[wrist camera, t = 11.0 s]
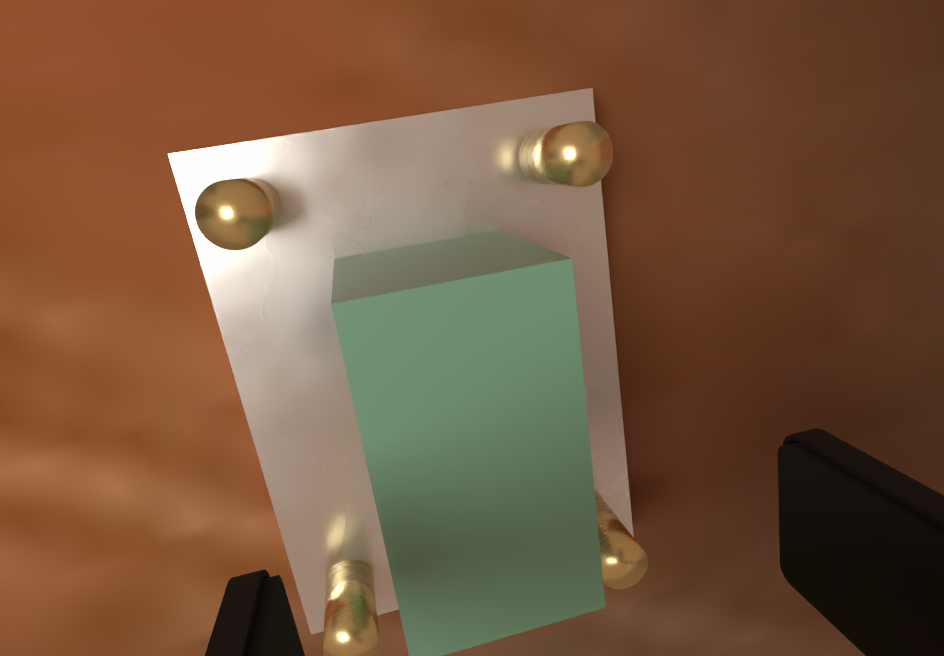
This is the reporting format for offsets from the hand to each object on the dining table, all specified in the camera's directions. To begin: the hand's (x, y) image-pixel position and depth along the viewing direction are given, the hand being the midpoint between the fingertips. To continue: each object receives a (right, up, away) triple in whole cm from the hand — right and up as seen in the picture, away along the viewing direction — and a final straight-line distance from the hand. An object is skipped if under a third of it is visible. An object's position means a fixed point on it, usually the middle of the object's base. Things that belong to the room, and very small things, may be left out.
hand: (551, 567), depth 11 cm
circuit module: (-2, +2, +8) cm, 9 cm away
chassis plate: (-3, +3, +9) cm, 10 cm away
